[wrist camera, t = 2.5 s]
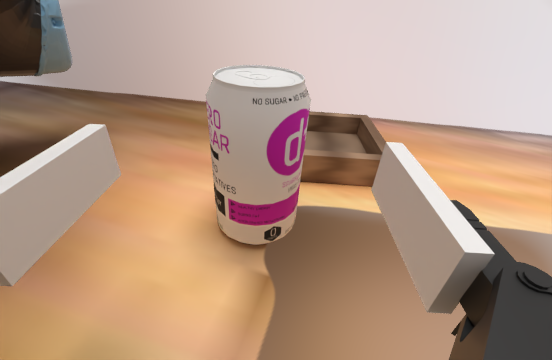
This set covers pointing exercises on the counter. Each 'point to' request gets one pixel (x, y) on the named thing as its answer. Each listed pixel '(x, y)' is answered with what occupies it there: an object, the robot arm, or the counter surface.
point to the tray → (341, 149)
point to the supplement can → (257, 149)
